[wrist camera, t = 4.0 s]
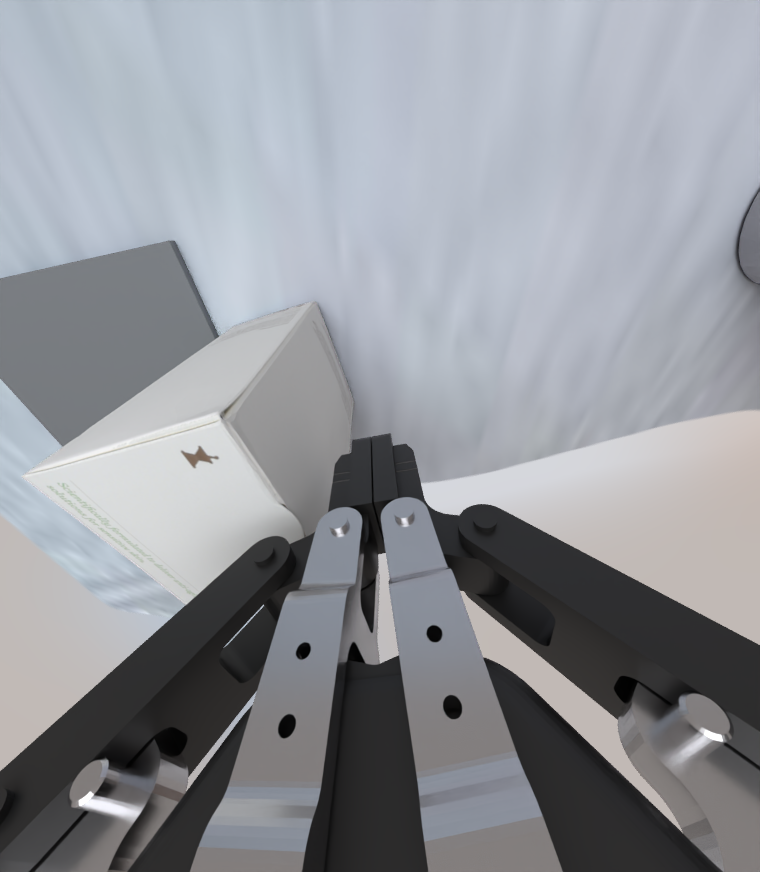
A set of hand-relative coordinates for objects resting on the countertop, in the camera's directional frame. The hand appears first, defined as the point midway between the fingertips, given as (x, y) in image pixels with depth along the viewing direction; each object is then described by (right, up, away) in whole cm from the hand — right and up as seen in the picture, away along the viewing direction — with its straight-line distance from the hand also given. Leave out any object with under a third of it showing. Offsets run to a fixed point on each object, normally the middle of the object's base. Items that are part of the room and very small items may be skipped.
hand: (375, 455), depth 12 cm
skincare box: (-6, +6, +11) cm, 14 cm away
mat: (-18, +4, +11) cm, 22 cm away
